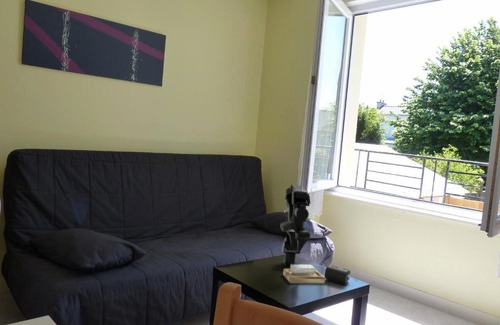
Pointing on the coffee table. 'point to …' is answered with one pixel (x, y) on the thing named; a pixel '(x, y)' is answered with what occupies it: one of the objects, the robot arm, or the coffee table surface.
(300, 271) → the block
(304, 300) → the coffee table surface
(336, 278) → the end cap
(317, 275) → the beech stand
